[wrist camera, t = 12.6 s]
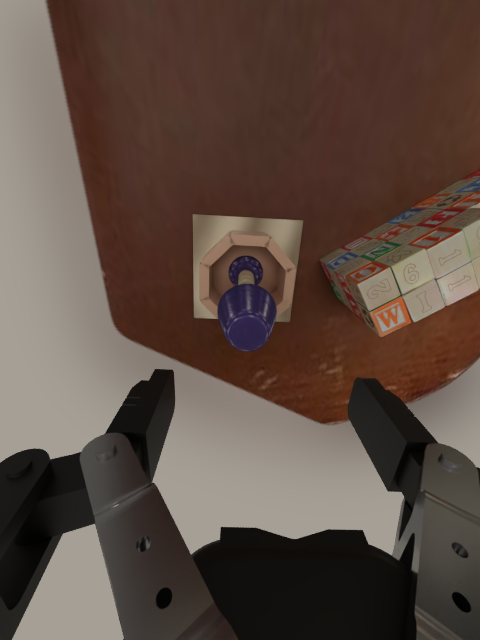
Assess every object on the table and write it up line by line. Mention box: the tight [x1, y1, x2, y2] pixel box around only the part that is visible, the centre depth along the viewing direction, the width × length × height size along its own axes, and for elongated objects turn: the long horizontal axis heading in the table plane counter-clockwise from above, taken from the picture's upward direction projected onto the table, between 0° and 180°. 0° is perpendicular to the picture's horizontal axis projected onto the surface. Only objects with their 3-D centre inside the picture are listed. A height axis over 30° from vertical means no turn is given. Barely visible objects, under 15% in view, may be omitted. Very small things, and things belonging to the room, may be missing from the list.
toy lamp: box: [217, 255, 277, 351], centre depth 25 cm, size 5×5×17 cm
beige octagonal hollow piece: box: [199, 230, 296, 319], centre depth 31 cm, size 10×10×6 cm
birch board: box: [193, 214, 303, 322], centre depth 34 cm, size 13×13×1 cm
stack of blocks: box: [319, 170, 480, 337], centre depth 28 cm, size 21×6×12 cm, turn 121°
